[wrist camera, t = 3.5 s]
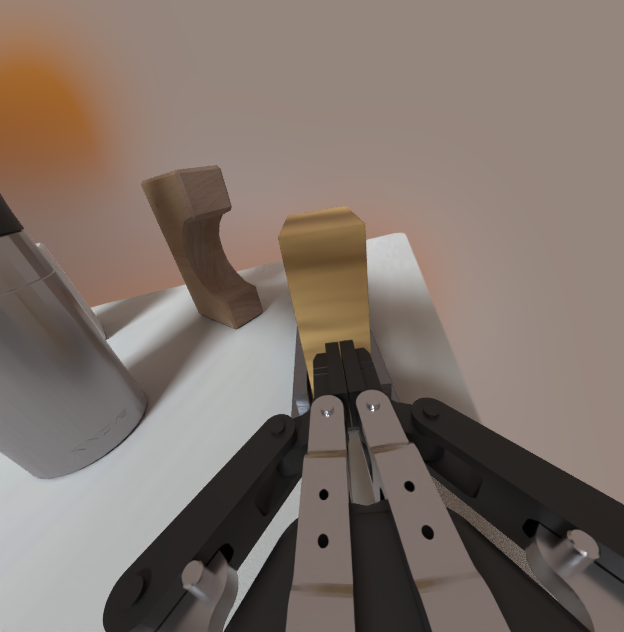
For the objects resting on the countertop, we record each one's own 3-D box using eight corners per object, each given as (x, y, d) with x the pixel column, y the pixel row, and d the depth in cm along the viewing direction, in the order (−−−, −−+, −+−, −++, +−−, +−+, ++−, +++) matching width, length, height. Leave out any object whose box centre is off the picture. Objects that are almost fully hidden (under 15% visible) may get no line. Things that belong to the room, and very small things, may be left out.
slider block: (372, 394, 21) (365, 223, 14) (314, 401, 21) (277, 237, 14) (356, 339, 28) (345, 205, 21) (312, 345, 28) (287, 215, 21)
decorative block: (265, 313, 38) (221, 164, 28) (234, 331, 35) (172, 170, 25) (227, 299, 45) (180, 176, 35) (198, 314, 42) (138, 181, 32)
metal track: (406, 423, 19) (410, 359, 16) (291, 436, 19) (272, 376, 16) (353, 289, 40) (350, 250, 37) (299, 297, 41) (292, 259, 38)
